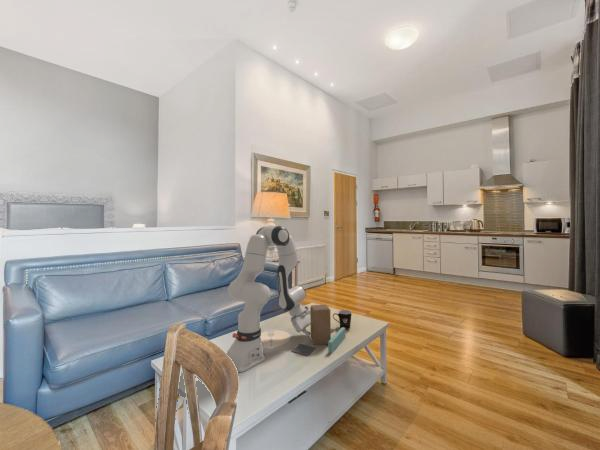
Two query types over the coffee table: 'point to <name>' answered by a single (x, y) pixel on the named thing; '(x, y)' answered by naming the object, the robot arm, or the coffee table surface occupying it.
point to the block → (320, 324)
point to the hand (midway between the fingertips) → (313, 332)
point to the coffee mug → (344, 318)
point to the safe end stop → (336, 340)
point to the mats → (305, 348)
